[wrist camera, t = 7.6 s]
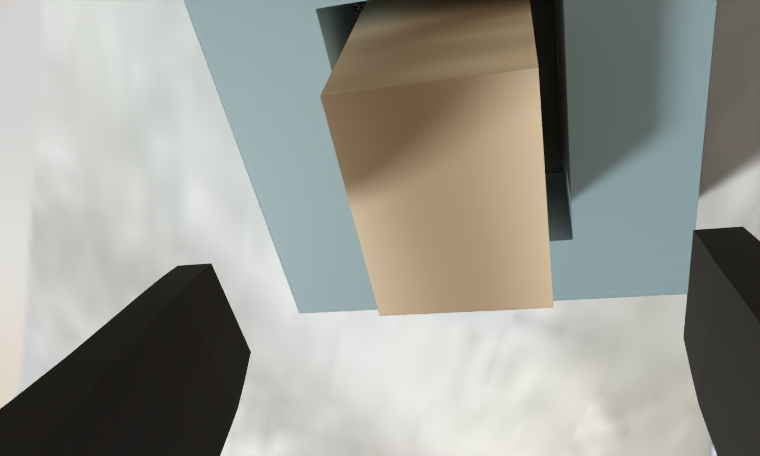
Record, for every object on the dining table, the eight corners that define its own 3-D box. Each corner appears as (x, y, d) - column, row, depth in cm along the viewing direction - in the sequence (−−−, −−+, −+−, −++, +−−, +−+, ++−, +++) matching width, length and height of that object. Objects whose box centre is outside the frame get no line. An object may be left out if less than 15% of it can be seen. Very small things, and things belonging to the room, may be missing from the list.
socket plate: (688, -201, 12) (734, -187, 10) (664, 220, 18) (689, 293, 16) (212, -100, 15) (157, -69, 12) (322, 246, 20) (299, 313, 18)
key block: (524, -40, 15) (538, 67, 10) (537, 153, 18) (553, 307, 13) (374, -14, 15) (320, 95, 11) (409, 165, 18) (380, 315, 14)
